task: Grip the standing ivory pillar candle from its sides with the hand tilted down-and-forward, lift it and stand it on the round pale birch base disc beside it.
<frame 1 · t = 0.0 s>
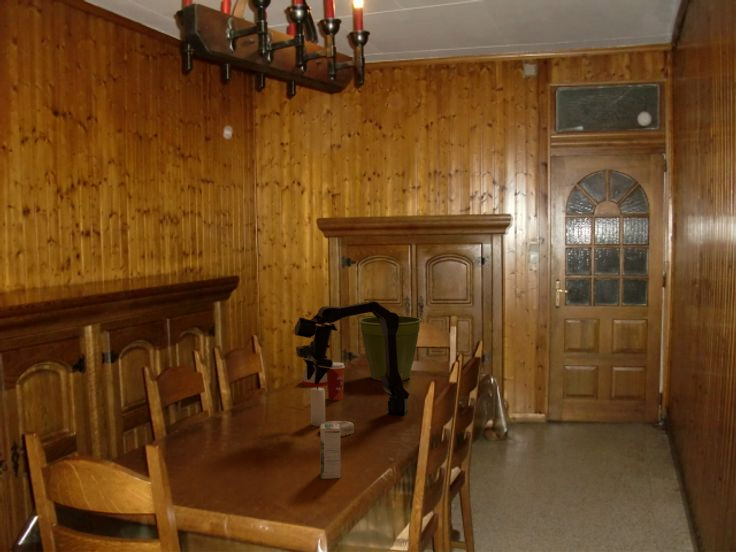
hand: (312, 381, 251), 15 cm above the table, tool pointing down, fingers open, 9 cm apart
syrup box: (330, 476, 196), on the table
plant pot: (390, 378, 330), on the table
candle: (318, 424, 250), on the table
base disc: (337, 431, 241), on the table
white and red hat: (317, 383, 322), on the table
coffee cup: (335, 399, 290), on the table
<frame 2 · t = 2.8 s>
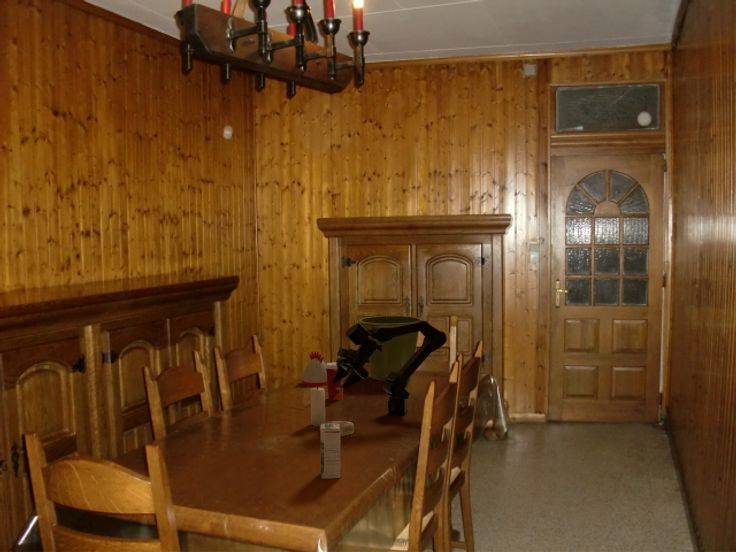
hand: (337, 385, 253), 13 cm above the table, tool tilted 45°, fingers open, 9 cm apart
nothing on the table moved.
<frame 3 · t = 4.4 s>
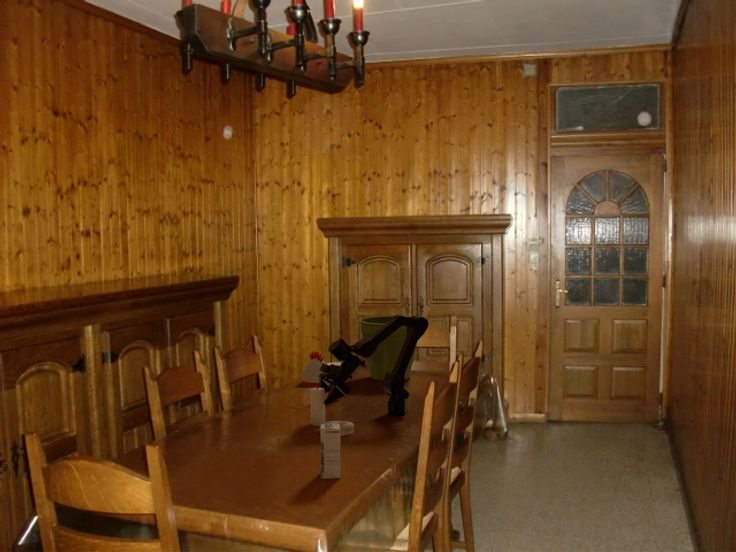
hand: (319, 401, 250), 8 cm above the table, tool tilted 45°, fingers open, 9 cm apart
nothing on the table moved.
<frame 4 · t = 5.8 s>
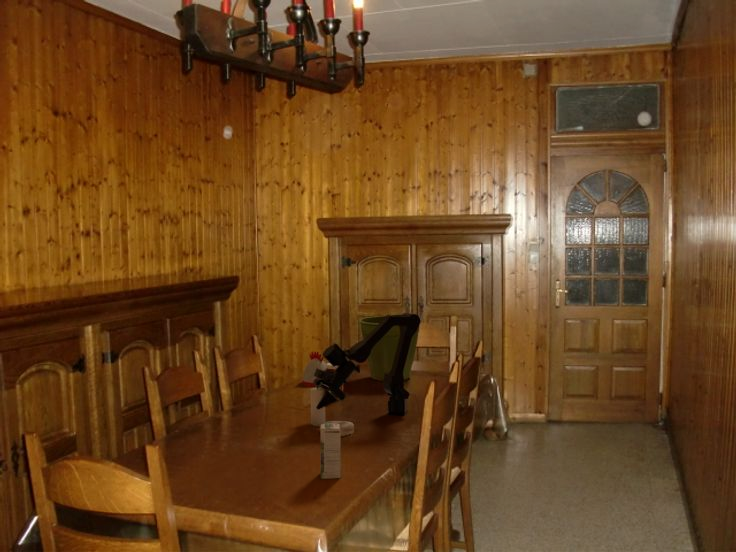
hand: (314, 407, 249), 7 cm above the table, tool tilted 45°, fingers closed on candle, 5 cm apart
candle: (318, 424, 250), on the table, touching gripper
everything else where it was.
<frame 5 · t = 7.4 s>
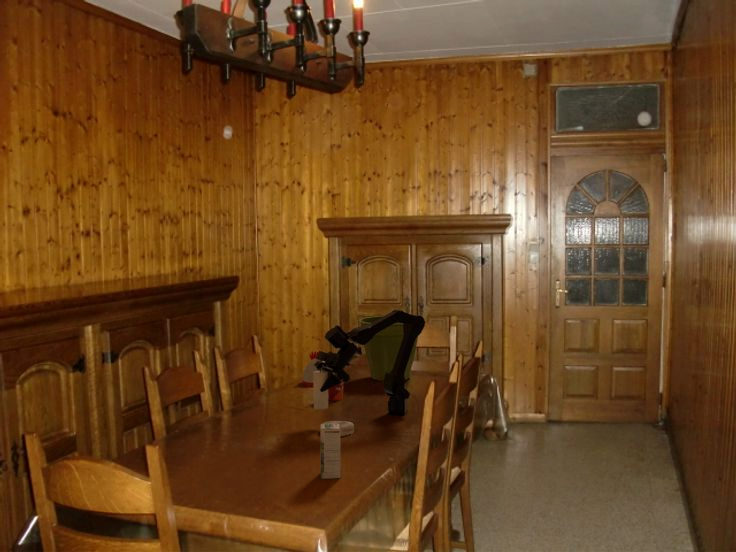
hand: (317, 389, 246), 13 cm above the table, tool tilted 45°, fingers closed on candle, 5 cm apart
candle: (321, 407, 247), point 7 cm above the table, touching gripper
everything else where it was.
when the fingers open (10 cm above the table, at t = 9.4 s): candle stays where it is, resting on base disc.
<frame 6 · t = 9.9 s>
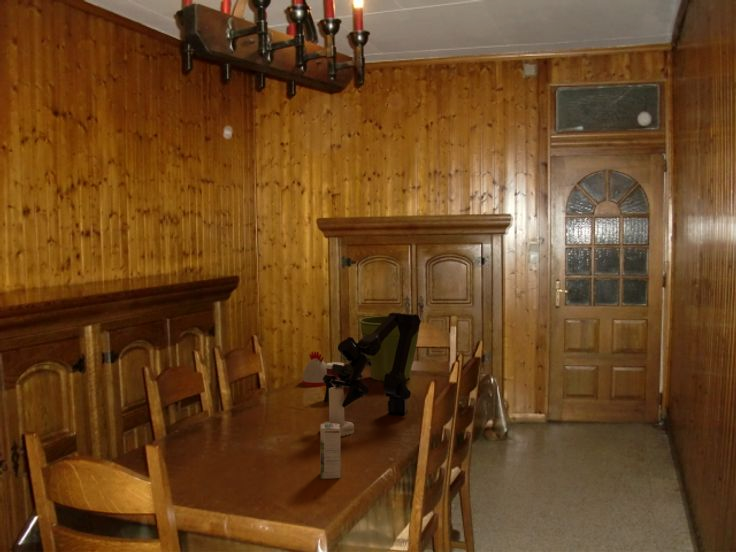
hand: (333, 404, 239), 10 cm above the table, tool tilted 45°, fingers open, 9 cm apart
candle: (337, 425, 240), point 2 cm above the table, touching base disc
everything else where it was.
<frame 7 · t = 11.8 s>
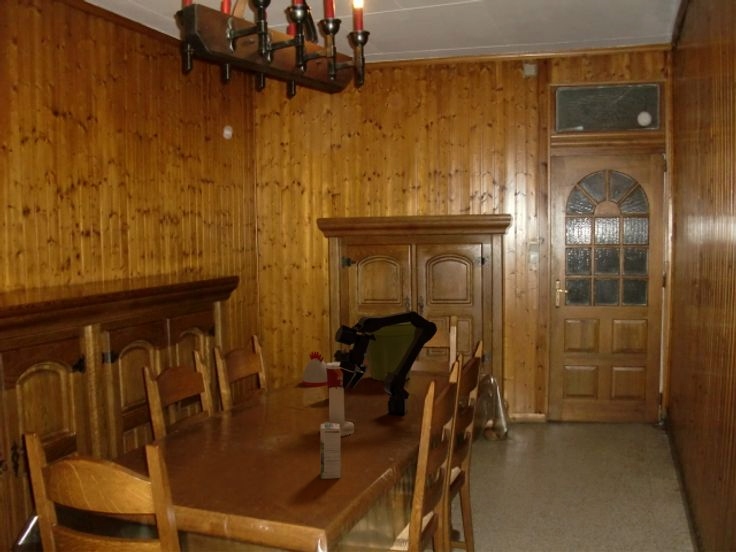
hand: (347, 388, 256), 12 cm above the table, tool tilted 20°, fingers open, 9 cm apart
nothing on the table moved.
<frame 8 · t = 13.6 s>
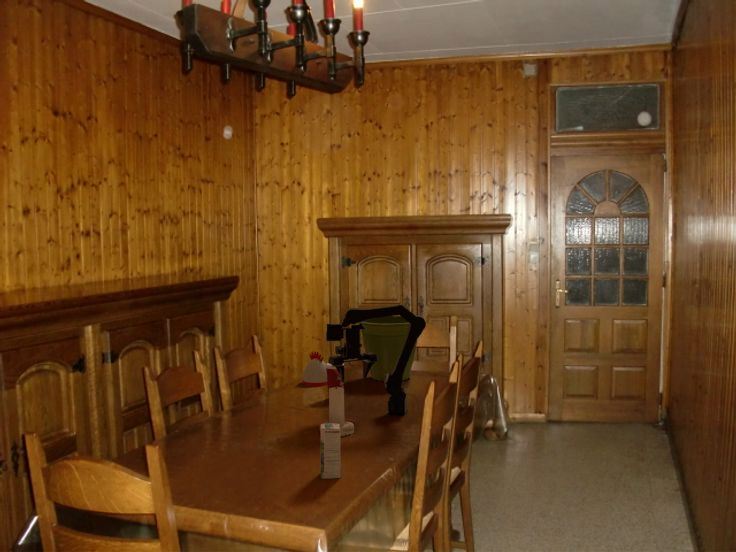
hand: (353, 380, 263), 13 cm above the table, tool pointing down, fingers open, 9 cm apart
nothing on the table moved.
at the end: candle 0.0 cm from the base disc (horizontally); candle point 2.3 cm above the table; candle tilted 0° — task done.
